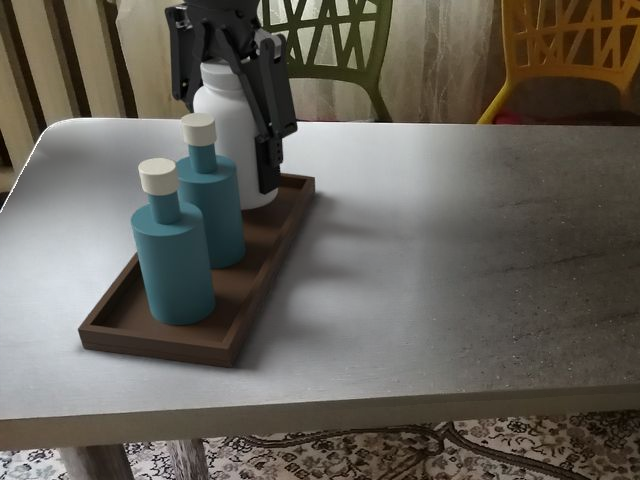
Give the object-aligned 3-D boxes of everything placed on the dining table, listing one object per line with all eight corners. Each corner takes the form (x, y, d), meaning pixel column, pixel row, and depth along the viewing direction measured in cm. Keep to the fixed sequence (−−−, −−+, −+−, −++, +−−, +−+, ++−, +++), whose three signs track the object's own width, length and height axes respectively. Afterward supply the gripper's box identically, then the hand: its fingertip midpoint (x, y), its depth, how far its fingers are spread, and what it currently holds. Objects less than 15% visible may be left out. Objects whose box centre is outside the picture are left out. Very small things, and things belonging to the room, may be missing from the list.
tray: (231, 368, 68) (228, 349, 66) (83, 348, 68) (77, 329, 66) (315, 193, 93) (315, 176, 91) (207, 179, 93) (204, 162, 91)
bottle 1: (203, 329, 70) (179, 187, 60) (140, 321, 70) (106, 178, 60) (224, 292, 75) (205, 154, 65) (164, 284, 75) (136, 145, 65)
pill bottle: (193, 188, 85) (172, 57, 76) (255, 171, 90) (243, 44, 80) (228, 219, 81) (211, 84, 72) (292, 199, 86) (284, 69, 76)
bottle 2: (235, 272, 77) (218, 137, 68) (178, 264, 77) (153, 128, 68) (252, 241, 82) (239, 110, 72) (198, 234, 82) (178, 102, 72)
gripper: (331, -26, 69) (335, 193, 83) (166, -73, 75) (196, 138, 90) (277, -10, 63) (291, 221, 78) (104, -62, 70) (148, 160, 85)
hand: (240, 176), depth 84 cm, fingers closed on pill bottle, 8 cm apart
